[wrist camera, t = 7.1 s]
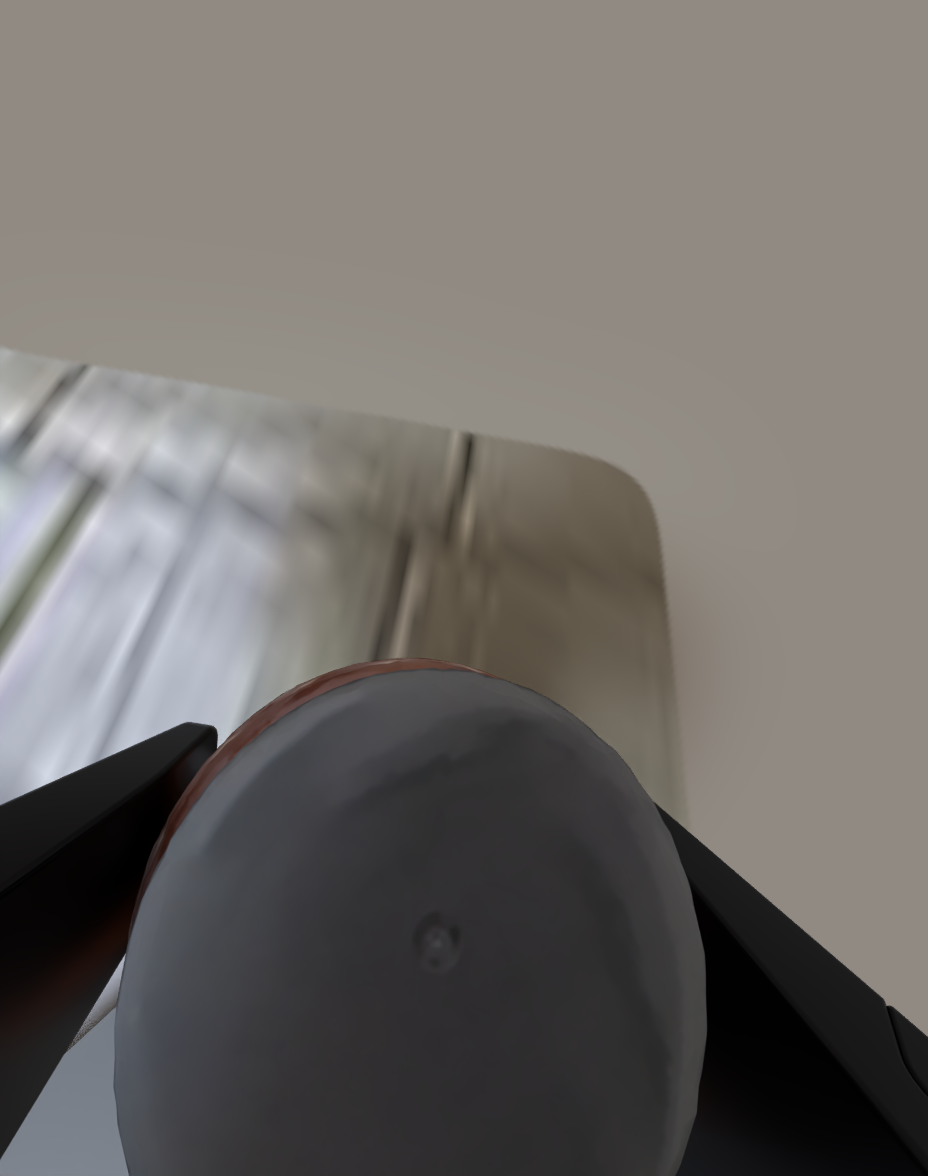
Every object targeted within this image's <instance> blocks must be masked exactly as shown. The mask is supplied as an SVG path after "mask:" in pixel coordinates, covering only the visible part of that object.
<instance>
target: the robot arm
mask: <svg viewBox="0 0 928 1176" xmlns="http://www.w3.org/2000/svg"><path fill="white" fill-rule="evenodd" d="M217 741H218V733H217V729H216V728H215V727H214V726H212V725H206V724H199V723H193V722H186V723H183V724H180V725H178V726H176V727H174V728H171V729H169V730H167V731H165V732H162V733H160V734H158V735H156V736H154V737H151V738H149V739H147V740H145V741H142V742H140V743H138V744H136V745H133V746H131V747H129V748H127V749H125V750H122V751H120V752H118V753H116V754H113V755H111V756H109V757H107V758H104V759H102V760H100V761H98V762H96V763H93V764H91V765H89V766H87V767H84V768H82V769H80V770H78V771H75V772H73V773H71V774H69V775H66V776H64V777H62V778H60V779H58V780H55V781H53V782H51V783H49V784H46V785H44V786H42V787H40V788H37V789H35V790H33V791H31V792H29V793H26V794H24V795H22V796H20V797H17V798H15V799H13V800H11V801H8V802H6V803H4V804H2V805H0V1160H1V1158H2V1156H3V1155H4V1153H5V1151H6V1150H7V1148H8V1146H9V1145H10V1143H11V1141H12V1140H13V1138H14V1136H15V1135H16V1133H17V1132H18V1130H19V1128H20V1127H21V1125H22V1123H23V1122H24V1120H25V1118H26V1117H27V1115H28V1113H29V1112H30V1110H31V1108H32V1107H33V1105H34V1104H35V1102H36V1100H37V1099H38V1097H39V1095H40V1094H41V1092H42V1090H43V1089H44V1087H45V1085H46V1084H47V1082H48V1080H49V1079H50V1077H51V1076H52V1074H53V1072H54V1071H55V1069H56V1067H57V1066H58V1064H59V1062H60V1061H61V1059H62V1057H63V1056H64V1054H65V1052H66V1051H67V1049H68V1048H69V1046H70V1044H71V1043H72V1041H73V1039H74V1038H75V1036H76V1034H77V1033H78V1031H79V1029H80V1028H81V1026H82V1024H83V1023H84V1021H85V1020H86V1018H87V1016H88V1015H89V1013H90V1011H91V1010H92V1008H93V1006H94V1005H95V1003H96V1001H97V1000H98V998H99V996H100V995H101V993H102V992H103V990H104V988H105V987H106V985H107V983H108V982H109V980H110V978H111V977H112V975H113V973H114V972H115V970H116V968H117V967H118V965H119V963H120V962H121V960H122V959H123V957H124V955H125V954H126V950H127V945H128V932H129V928H130V925H131V919H132V913H133V910H134V905H135V899H136V896H137V893H138V890H139V887H140V884H141V882H142V879H143V876H144V872H145V869H146V865H147V862H148V859H149V857H150V854H151V851H152V849H153V846H154V844H155V842H156V841H157V839H158V837H159V835H160V832H161V830H162V828H163V827H164V825H165V823H166V821H167V819H168V816H169V814H170V813H171V811H172V809H173V808H174V806H175V805H176V803H177V802H178V800H179V799H180V797H181V796H182V794H183V793H184V791H185V789H186V788H187V786H188V785H189V784H190V782H191V781H192V780H193V778H194V777H195V775H196V774H197V772H198V771H199V769H200V768H201V766H202V765H203V764H204V763H205V762H206V761H207V759H208V758H209V757H210V756H211V755H213V753H214V752H215V751H216V750H217ZM654 804H655V806H656V808H657V810H658V812H659V814H660V816H661V818H662V820H663V822H664V823H665V825H666V827H667V828H668V830H669V831H670V833H671V836H672V838H673V841H674V844H675V846H676V849H677V852H678V854H679V858H680V861H681V864H682V866H683V869H684V871H685V874H686V876H687V878H688V882H689V885H690V889H691V893H692V899H693V905H694V909H695V913H696V918H697V922H698V926H699V930H700V935H701V939H702V944H703V948H704V953H705V967H706V1012H707V1036H706V1046H705V1053H704V1061H703V1068H702V1073H701V1078H700V1083H699V1090H698V1102H697V1113H696V1117H695V1120H694V1123H693V1126H692V1129H691V1133H690V1136H689V1139H688V1142H687V1146H686V1149H685V1152H684V1155H683V1159H682V1162H681V1165H680V1167H679V1169H678V1171H677V1173H676V1175H675V1176H928V1037H927V1036H926V1035H925V1034H924V1033H923V1032H922V1031H920V1030H919V1029H918V1028H917V1027H916V1026H915V1025H913V1024H912V1023H911V1022H910V1021H909V1020H908V1019H906V1018H905V1017H904V1016H903V1015H902V1014H901V1013H900V1012H898V1011H897V1010H896V1009H895V1008H894V1007H892V1006H886V1003H885V1001H884V999H883V998H882V997H881V996H879V995H878V994H877V993H876V992H875V991H874V990H872V989H871V988H870V987H869V986H868V985H867V984H866V983H864V982H863V981H862V980H861V979H860V978H859V977H857V976H856V975H855V974H854V973H853V972H852V971H850V970H849V969H848V968H847V967H846V966H845V965H843V964H842V963H841V962H840V961H839V960H838V959H836V958H835V957H834V956H833V955H832V954H830V953H829V952H828V951H827V950H826V949H825V948H823V947H822V946H821V945H820V944H819V943H818V942H817V941H815V940H814V939H813V938H812V937H811V936H810V935H808V934H807V933H806V932H805V931H804V930H803V929H801V928H800V927H799V926H798V925H797V924H795V923H794V922H793V921H792V920H791V919H790V918H789V917H787V916H786V915H785V914H784V913H783V912H782V911H780V910H779V909H778V908H777V907H776V906H775V905H773V904H772V903H771V902H770V901H769V900H768V899H766V898H765V897H764V896H763V895H762V894H761V893H759V892H758V891H757V890H756V889H755V888H754V887H752V886H751V885H750V884H749V883H748V882H747V881H745V880H744V879H743V878H742V877H741V876H739V875H738V874H737V873H736V872H735V871H734V870H733V869H731V868H730V867H729V866H728V865H727V864H726V863H724V862H723V861H722V860H721V859H720V858H719V857H717V856H716V855H715V854H714V853H713V852H712V851H710V850H709V849H708V848H707V847H706V846H705V845H703V844H702V843H701V842H700V841H699V840H698V839H696V838H695V837H694V836H693V835H692V834H691V833H689V832H688V831H687V830H686V829H685V828H684V827H682V826H681V825H680V824H679V823H678V822H677V821H675V820H674V819H673V818H672V817H671V816H670V815H669V814H667V813H666V812H665V811H664V810H663V809H662V808H660V807H659V806H658V805H657V804H656V803H655V802H654Z"/></svg>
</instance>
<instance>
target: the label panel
mask: <svg viewBox="0 0 928 1176" xmlns="http://www.w3.org/2000/svg"><path fill="white" fill-rule="evenodd" d="M115 1016H116V1007H115V1008H114V1009H113V1010H112V1011H111V1012H110V1013H108V1014H107V1015H106V1016H105V1017H104V1018H103V1019H102V1020H101V1021H100V1022H99V1023H98V1024H97V1025H96V1026H94V1027H93V1028H92V1029H91V1030H90V1031H89V1032H88V1033H87V1034H86V1035H85V1036H84V1037H83V1038H82V1039H80V1040H79V1041H78V1042H77V1043H76V1044H75V1045H74V1046H73V1047H72V1048H71V1049H70V1050H69V1051H67V1052H66V1053H65V1054H64V1056H63V1057H62V1059H61V1061H60V1062H59V1064H58V1066H57V1067H56V1069H55V1071H54V1072H53V1074H52V1076H51V1077H50V1079H49V1080H48V1082H47V1084H46V1085H45V1087H44V1089H43V1090H42V1092H41V1094H40V1095H39V1097H38V1099H37V1100H36V1102H35V1104H34V1105H33V1107H32V1108H31V1110H30V1112H29V1113H28V1115H27V1117H26V1118H25V1120H24V1122H23V1123H22V1125H21V1127H20V1128H19V1130H18V1132H17V1133H16V1135H15V1136H14V1138H13V1140H12V1141H11V1143H10V1145H9V1146H8V1148H7V1150H6V1151H5V1153H4V1155H3V1156H2V1158H1V1160H0V1176H129V1173H128V1169H127V1165H126V1161H125V1156H124V1152H123V1148H122V1143H121V1138H120V1134H119V1129H118V1125H117V1109H116V1099H115V1094H114V1089H113V1082H114V1062H115V1044H114V1025H115Z"/></svg>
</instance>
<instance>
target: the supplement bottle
mask: <svg viewBox="0 0 928 1176" xmlns="http://www.w3.org/2000/svg"><path fill="white" fill-rule="evenodd" d="M706 1036H707V1012H706V967H705V953H704V948H703V944H702V939H701V935H700V930H699V926H698V922H697V918H696V913H695V909H694V905H693V899H692V893H691V889H690V885H689V882H688V878H687V876H686V874H685V871H684V869H683V866H682V864H681V861H680V858H679V854H678V852H677V849H676V846H675V844H674V841H673V838H672V836H671V833H670V831H669V830H668V828H667V827H666V825H665V823H664V822H663V820H662V818H661V816H660V814H659V812H658V810H657V808H656V806H655V804H654V802H653V801H652V799H651V798H650V797H649V795H648V794H647V793H646V791H645V790H644V789H643V787H642V786H641V785H640V783H639V782H638V780H637V778H636V777H635V775H634V773H633V772H632V770H631V769H630V767H629V766H628V765H627V764H626V762H625V761H624V760H623V759H622V758H621V757H620V755H619V754H618V753H617V752H616V751H615V750H614V749H613V748H612V747H610V746H609V745H608V744H607V743H606V742H604V741H603V740H602V739H601V738H599V737H598V736H597V735H596V734H595V733H594V732H593V731H592V730H591V728H589V727H588V726H587V725H586V724H584V723H583V722H582V721H581V720H580V719H578V718H577V717H576V716H574V715H573V714H571V713H570V712H569V711H567V710H566V709H565V708H563V707H562V706H560V705H559V704H557V703H555V702H554V701H552V700H551V699H549V698H547V697H545V696H543V695H541V694H539V693H537V692H535V691H533V690H531V689H528V688H525V687H522V686H519V685H517V684H514V683H511V682H509V681H506V680H503V679H501V678H498V677H496V676H493V675H491V674H488V673H486V672H484V671H481V670H478V669H474V668H471V667H468V666H465V665H461V664H456V663H451V662H446V661H440V660H432V659H425V658H397V659H388V660H379V661H371V662H365V663H359V664H353V665H350V666H347V667H344V668H341V669H337V670H334V671H331V672H328V673H326V674H323V675H321V676H318V677H316V678H314V679H311V680H309V681H307V682H304V683H302V684H299V685H297V686H296V687H294V688H293V689H291V690H289V691H287V692H285V693H283V694H281V695H280V696H279V697H277V698H276V699H274V700H273V701H272V702H270V703H268V704H267V705H266V706H264V707H263V708H262V709H260V710H259V711H257V712H256V713H255V714H254V715H252V716H251V717H250V718H249V719H248V720H247V721H246V722H244V723H243V724H242V725H241V726H240V727H239V728H237V729H236V730H235V731H234V732H233V733H232V734H231V735H230V736H229V737H228V738H227V739H226V741H225V742H224V743H223V744H222V745H220V746H219V747H218V749H217V750H216V751H215V752H214V753H213V755H211V756H210V757H209V758H208V759H207V761H206V762H205V763H204V764H203V765H202V766H201V768H200V769H199V771H198V772H197V774H196V775H195V777H194V778H193V780H192V781H191V782H190V784H189V785H188V786H187V788H186V789H185V791H184V793H183V794H182V796H181V797H180V799H179V800H178V802H177V803H176V805H175V806H174V808H173V809H172V811H171V813H170V814H169V816H168V819H167V821H166V823H165V825H164V827H163V828H162V830H161V832H160V835H159V837H158V839H157V841H156V842H155V844H154V846H153V849H152V851H151V854H150V857H149V859H148V862H147V865H146V869H145V872H144V876H143V879H142V882H141V884H140V887H139V890H138V893H137V896H136V899H135V905H134V910H133V913H132V919H131V925H130V928H129V932H128V945H127V950H126V956H125V961H124V966H123V972H122V977H121V983H120V988H119V993H118V999H117V1006H116V1016H115V1025H114V1044H115V1062H114V1082H113V1089H114V1094H115V1099H116V1109H117V1125H118V1129H119V1134H120V1138H121V1143H122V1148H123V1152H124V1156H125V1161H126V1165H127V1169H128V1173H129V1176H675V1175H676V1173H677V1171H678V1169H679V1167H680V1165H681V1162H682V1159H683V1155H684V1152H685V1149H686V1146H687V1142H688V1139H689V1136H690V1133H691V1129H692V1126H693V1123H694V1120H695V1117H696V1113H697V1102H698V1090H699V1083H700V1078H701V1073H702V1068H703V1061H704V1053H705V1046H706Z"/></svg>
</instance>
